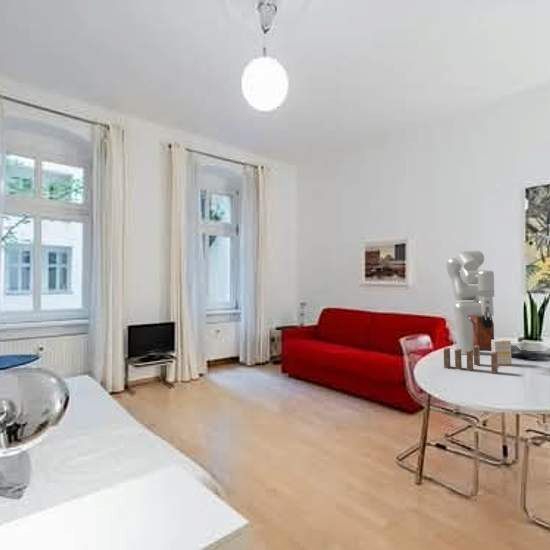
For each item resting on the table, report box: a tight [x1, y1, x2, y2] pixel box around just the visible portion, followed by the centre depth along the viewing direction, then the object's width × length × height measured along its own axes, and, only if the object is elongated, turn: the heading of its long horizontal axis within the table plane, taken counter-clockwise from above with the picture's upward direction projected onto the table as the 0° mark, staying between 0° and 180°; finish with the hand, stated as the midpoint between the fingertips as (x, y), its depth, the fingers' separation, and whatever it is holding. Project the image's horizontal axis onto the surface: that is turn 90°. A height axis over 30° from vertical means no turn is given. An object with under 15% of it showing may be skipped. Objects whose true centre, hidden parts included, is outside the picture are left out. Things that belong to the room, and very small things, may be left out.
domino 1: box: [443, 347, 451, 369], centre depth 205 cm, size 2×5×10 cm, turn 143°
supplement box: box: [491, 339, 513, 366], centre depth 208 cm, size 8×5×13 cm, turn 84°
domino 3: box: [466, 350, 474, 372], centre depth 198 cm, size 2×5×10 cm, turn 143°
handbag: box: [469, 315, 495, 351], centre depth 254 cm, size 10×19×35 cm, turn 163°
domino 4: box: [473, 345, 481, 367], centre depth 208 cm, size 2×5×10 cm, turn 143°
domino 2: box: [454, 349, 463, 370], centre depth 202 cm, size 2×5×10 cm, turn 143°
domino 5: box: [490, 351, 499, 375], centre depth 192 cm, size 2×5×10 cm, turn 143°
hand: (487, 326), depth 205 cm, fingers open, 9 cm apart
